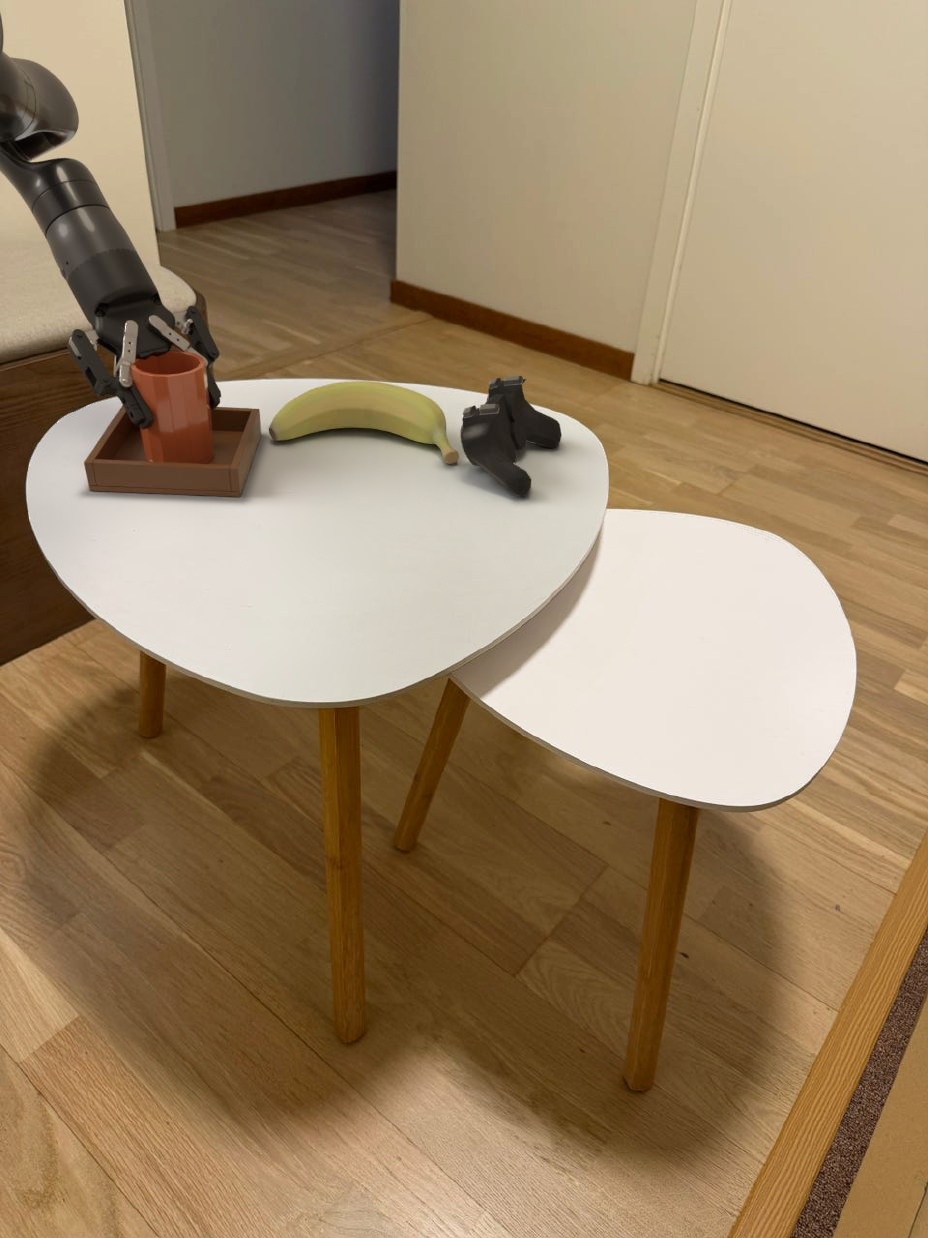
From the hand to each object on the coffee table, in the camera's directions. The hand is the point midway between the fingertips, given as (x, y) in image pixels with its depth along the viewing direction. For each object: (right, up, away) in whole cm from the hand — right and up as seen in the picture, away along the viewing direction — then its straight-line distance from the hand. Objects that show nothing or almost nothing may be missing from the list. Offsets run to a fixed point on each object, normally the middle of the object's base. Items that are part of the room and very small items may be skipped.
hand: (182, 415), depth 90 cm
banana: (+18, -1, +10) cm, 21 cm away
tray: (-1, -4, +4) cm, 6 cm away
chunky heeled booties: (+33, -3, +9) cm, 35 cm away
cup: (-1, -3, +4) cm, 5 cm away
